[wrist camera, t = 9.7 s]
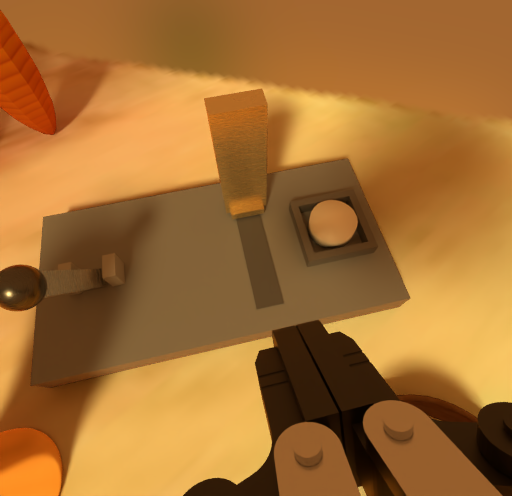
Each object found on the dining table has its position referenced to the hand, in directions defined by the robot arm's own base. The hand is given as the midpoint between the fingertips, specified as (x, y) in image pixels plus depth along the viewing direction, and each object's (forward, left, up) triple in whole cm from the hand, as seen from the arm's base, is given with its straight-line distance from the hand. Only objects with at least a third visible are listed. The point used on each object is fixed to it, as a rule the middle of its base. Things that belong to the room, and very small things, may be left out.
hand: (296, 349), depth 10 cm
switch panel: (-3, +9, -12) cm, 15 cm away
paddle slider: (0, +12, -10) cm, 16 cm away
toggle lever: (-11, +9, -10) cm, 17 cm away
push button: (+6, +9, -10) cm, 15 cm away
